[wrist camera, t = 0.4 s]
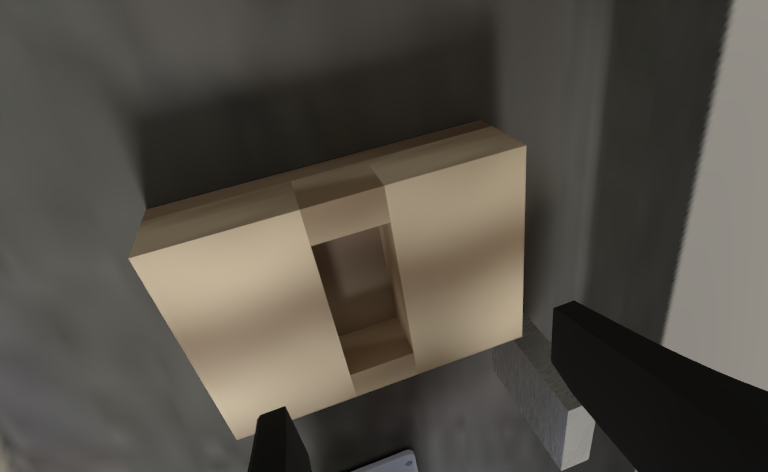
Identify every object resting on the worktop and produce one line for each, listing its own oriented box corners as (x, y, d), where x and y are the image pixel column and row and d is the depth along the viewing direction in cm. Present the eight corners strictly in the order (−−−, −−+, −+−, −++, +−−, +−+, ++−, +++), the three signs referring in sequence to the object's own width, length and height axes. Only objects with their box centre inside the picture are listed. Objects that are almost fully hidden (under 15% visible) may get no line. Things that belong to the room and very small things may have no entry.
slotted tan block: (487, 293, 24) (522, 336, 21) (236, 379, 22) (237, 440, 19) (481, 119, 19) (526, 145, 16) (146, 209, 17) (128, 258, 14)
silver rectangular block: (515, 360, 28) (588, 459, 22) (492, 368, 28) (561, 470, 22) (515, 303, 25) (599, 398, 20) (491, 311, 25) (568, 411, 19)
